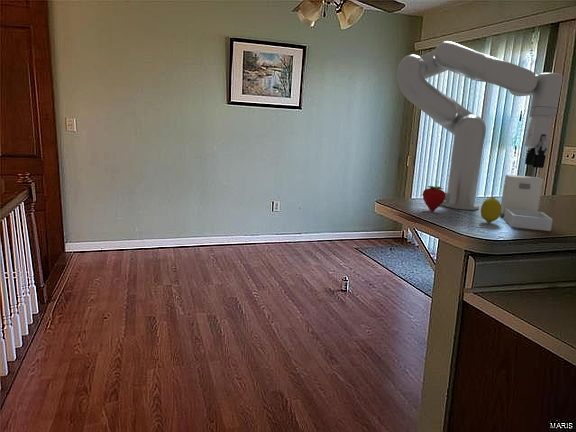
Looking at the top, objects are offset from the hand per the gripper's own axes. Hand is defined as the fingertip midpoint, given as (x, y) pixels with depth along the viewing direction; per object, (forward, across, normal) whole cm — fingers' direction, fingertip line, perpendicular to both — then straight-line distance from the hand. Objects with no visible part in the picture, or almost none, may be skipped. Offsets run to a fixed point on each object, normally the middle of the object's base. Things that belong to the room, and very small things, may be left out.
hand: (533, 166), depth 152 cm
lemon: (+16, +22, -15) cm, 31 cm away
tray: (+16, +19, -4) cm, 25 cm away
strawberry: (+16, +12, -31) cm, 37 cm away
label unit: (+16, +7, -4) cm, 18 cm away
